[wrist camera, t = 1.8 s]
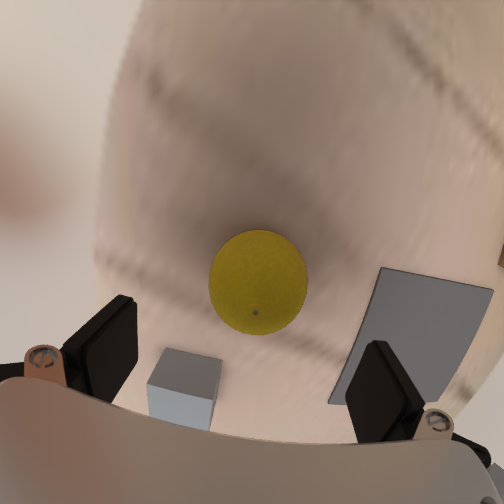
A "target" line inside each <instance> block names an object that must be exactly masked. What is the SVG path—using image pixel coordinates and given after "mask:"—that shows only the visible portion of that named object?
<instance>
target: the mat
mask: <svg viewBox="0 0 504 504" xmlns="http://www.w3.org/2000/svg"><path fill="white" fill-rule="evenodd" d="M493 293H494V290H492V289H488V288H483V287H478V286H473V285H468V284H463V283H458V282H453V281H448V280H444V279H439V278H434V277H429V276H423V275H418V274H413V273H408V272H403V271H398V270H393V269H388V268H383V267H381V269H380V272H379V275H378V279H377V282H376V285H375V288H374V291H373V294H372V297H371V300H370V303H369V305H368V308H367V311H366V314H365V317H364V319H363V322H362V325H361V327H360V330H359V332H358V335H357V337H356V340H355V342H354V345H353V347H352V350H351V352H350V355H349V357H348V359H347V362H346V364H345V366H344V368H343V371H342V373H341V375H340V377H339V379H338V382H337V384H336V386H335V388H334V390H333V392H332V394H331V396H330V398H329V400H328V404H335V405H347V403H346V400H345V393H346V390H347V388H348V386H349V384H350V382H351V380H352V378H353V376H354V373H355V371H356V369H357V367H358V364H359V362H360V360H361V358H362V355H363V353H364V350H365V348H366V346H367V344H368V343H371V342H372V341H373V340H382V341H387V342H388V344H389V345H390V347H391V348H392V350H393V352H394V353H395V355H396V356H397V358H398V359H399V361H400V362H401V364H402V366H403V367H404V369H405V370H406V372H407V374H408V375H409V377H410V378H411V380H412V382H413V383H414V385H415V387H416V388H417V390H418V392H419V393H420V395H421V397H422V398H423V400H424V402H425V403H426V402H436V401H438V399H439V398H440V396H441V395H442V393H443V392H444V390H445V389H446V387H447V385H448V384H449V382H450V381H451V379H452V377H453V376H454V374H455V372H456V371H457V369H458V367H459V365H460V364H461V362H462V360H463V358H464V356H465V355H466V353H467V351H468V349H469V347H470V345H471V343H472V341H473V339H474V337H475V335H476V333H477V331H478V328H479V326H480V324H481V322H482V320H483V317H484V315H485V313H486V310H487V308H488V306H489V303H490V301H491V298H492V295H493Z"/></svg>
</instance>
